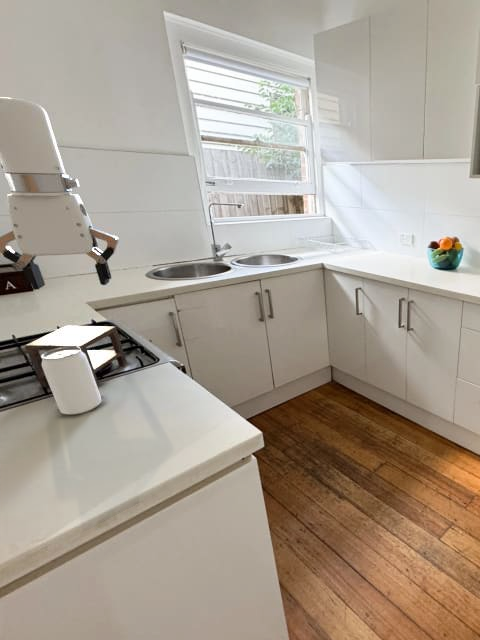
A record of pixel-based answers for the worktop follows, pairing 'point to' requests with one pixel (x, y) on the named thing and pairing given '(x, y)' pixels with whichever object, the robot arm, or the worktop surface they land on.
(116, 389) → the worktop surface
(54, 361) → the can
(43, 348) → the shelf
